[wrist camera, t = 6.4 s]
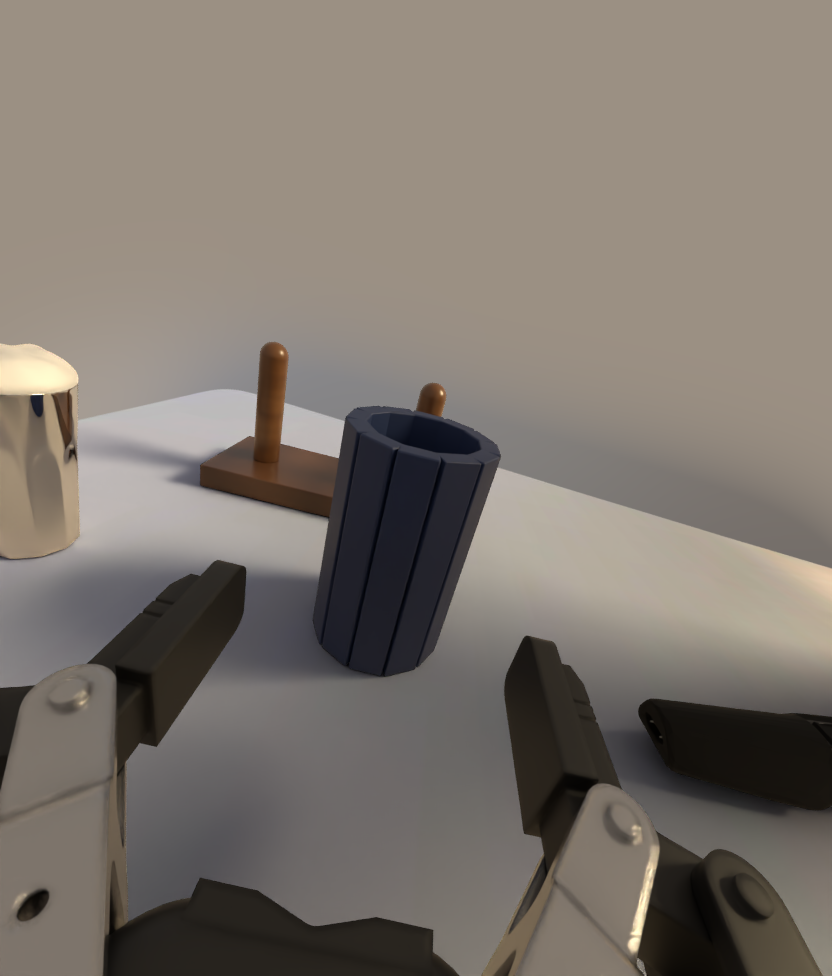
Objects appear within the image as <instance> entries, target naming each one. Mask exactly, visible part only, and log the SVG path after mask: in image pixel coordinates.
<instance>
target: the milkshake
mask: <svg viewBox="0 0 832 976" xmlns="http://www.w3.org/2000/svg"><path fill="white" fill-rule="evenodd" d="M77 434H78V375H77V372H76V371H75V369H74V368H73V367H72V366H71V365H69V364H68V363H67V362H66V361H64V360H63V359H62V358H60V357H58V356H57V355H55V354H53V353H51V352H49V351H46V350H44V349H43V348H41V347H39V346H37V345H33V344H22V345H15V346H10V345H4V344H0V556H3V557H6V558H9V559H18V558H32V557H42V556H45V555H48V554H51V553H54V552H57V551H60V550H62V549H65V548H67V547H69V546H70V545H71V544H72V543H73V542H74V541H75V540H76V539H77V538H78V537H79V536H80V516H79V484H78V451H77Z"/></svg>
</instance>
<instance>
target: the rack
mask: <svg viewBox="0 0 832 976" xmlns="http://www.w3.org/2000/svg"><path fill="white" fill-rule="evenodd" d="M287 368H288V352H287V350H286V349H285V348H284V347H283V345H281V344H279V343H277V342H269V343H267V344H265V345H264V346H263V347H262V348H261V351H260V362H259V377H258V393H257V408H256V423H255V437H251V436H249V437H247V438H245V439H244V440H242V441H240V442H238V443H237V444H235V445H233V446H232V447H230V448H228V449H227V450H225V451H223V452H221V453H220V454H218V455H216V456H215V457H213V458H211V459H210V460H208V461H206V462H204V463H203V464H201V465H200V485H201V486H205V487H209V488H213V489H217V490H221V491H225V492H229V493H233V494H237V495H241V496H245V497H249V498H253V499H257V500H261V501H265V502H269V503H273V504H277V505H282V506H286V507H290V508H294V509H298V510H302V511H306V512H310V513H314V514H318V515H322V516H326V517H330V511H331V504H332V498H333V492H334V486H335V480H336V474H337V467H338V461H339V458H335V457H331V456H327V455H323V454H319V453H315V452H311V451H307V450H303V449H299V448H295V447H291V446H287V445H283V444H280V443H281V432H282V422H283V411H284V399H285V390H286V379H287ZM445 401H446V392H445V390H444V388H443V387H442V386H441V385H439V384H437V383H429V384H427V385H425V386H424V387H423V388H422V390H421V392H420V396H419V400H418V404H417V408H416V411H420V412H424V413H428V414H431V415H435V416H439V417H441V416H442V412H443V408H444V405H445Z"/></svg>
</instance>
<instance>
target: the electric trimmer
mask: <svg viewBox="0 0 832 976" xmlns="http://www.w3.org/2000/svg"><path fill="white" fill-rule="evenodd" d="M638 712H639V717H640V719H641V721H642V723H643V725H644V726H645V728H646V730H647V732H648V733H649V735H650V737H651V739H652V741H653V742H654V744H655V746H656V748H657V749H658V751H659V753H660V755H661V756H662V758H663V760H664V762H665V764H666V765H667V766H668V767H669V768H670V769H671V770H672V771H675V772H677V773H679V774H683V775H686V776H690V777H693V778H697V779H700V780H704V781H707V782H711V783H714V784H718V785H721V786H724V787H728V788H731V789H735V790H738V791H742V792H745V793H749V794H752V795H756V796H759V797H763V798H766V799H770V800H773V801H777V802H781V803H785V804H789V805H793V806H797V807H801V808H805V809H809V810H823V809H826V808H828V807H830V806H831V805H832V717H828V716H819V715H810V714H798V713H789V714H777V713H769V712H760V711H752V710H744V709H736V708H727V707H719V706H711V705H703V704H695V703H686V702H678V701H670V700H662V699H649V700H646V701H645V702H643V703H642V704H641V705H640V707H639V709H638Z"/></svg>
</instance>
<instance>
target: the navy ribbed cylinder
mask: <svg viewBox="0 0 832 976" xmlns="http://www.w3.org/2000/svg"><path fill="white" fill-rule="evenodd" d="M500 458H501V454H500V451H499V449H498V446H497V445H496V444H495V443H494V442H493V441H491V440H490V439H488V438H487V437H485V436H483V435H482V434H480V433H479V432H477V431H474V429H472V428H469V427H467V426H465V425H462V424H460V423H457V422H455V421H452V420H450V419H444V418H443V417H439V416H435V415H431V414H428V413H424V412H420V411H414V412H412V411H411V410H409V409H402V408H394V407H385V406H384V407H380V406H371V407H360V408H357V409H354V410H353V411H352V412H350V414H349V415H347V416H346V418H345V424H344V431H343V437H342V443H341V449H340V455H339V461H338V467H337V474H336V480H335V486H334V492H333V498H332V504H331V511H330V517H329V523H328V529H327V535H326V541H325V547H324V554H323V560H322V566H321V572H320V578H319V584H318V590H317V597H316V603H315V609H314V615H313V623H314V627H315V630H316V634H317V637H318V641H319V644H322V647H323V648H324V649H325V650H326V651H327V652H329V653H330V654H331V655H332V656H333V657H334V658H336V659H337V660H338V661H339V662H340V663H341V664H343V665H344V666H345V665H346V664H348V663H349V668H350V669H354V670H358V671H362V672H366V673H370V674H374V675H379V676H380V675H381V674H382V671H383V673H384V675H385V676H389V675H393V674H397V673H402V672H406V671H410V670H414V669H415V666H416V667H418V666H419V665H420V664H421V663H422V662H423V661H424V660H425V659H426V658H427V657H428V656H429V655H430V654H431V653H432V652H433V650H434V648H435V646H436V643H437V640H438V637H439V634H440V632H441V629H442V626H443V623H444V620H445V617H446V614H447V611H448V609H449V606H450V603H451V600H452V597H453V594H454V591H455V588H456V585H457V583H458V580H459V577H460V574H461V571H462V568H463V565H464V562H465V559H466V557H467V554H468V551H469V548H470V545H471V542H472V539H473V536H474V533H475V531H476V528H477V525H478V522H479V519H480V516H481V513H482V510H483V507H484V505H485V502H486V499H487V496H488V493H489V490H490V487H491V484H492V481H493V479H494V476H495V473H496V470H497V467H498V464H499V461H500Z"/></svg>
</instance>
